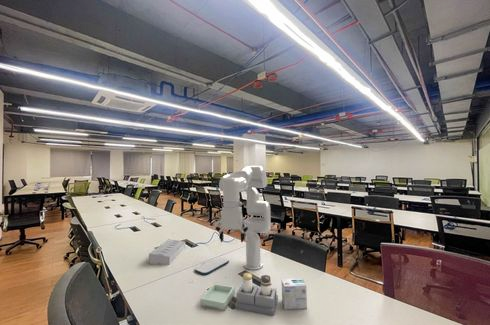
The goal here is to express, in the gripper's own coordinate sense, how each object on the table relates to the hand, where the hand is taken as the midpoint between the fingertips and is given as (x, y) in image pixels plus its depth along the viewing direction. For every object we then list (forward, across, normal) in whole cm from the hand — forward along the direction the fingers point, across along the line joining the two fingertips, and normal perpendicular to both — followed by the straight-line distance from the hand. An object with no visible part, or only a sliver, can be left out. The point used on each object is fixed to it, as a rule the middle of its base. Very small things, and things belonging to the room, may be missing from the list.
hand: (232, 241), depth 101 cm
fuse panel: (+31, -11, -4) cm, 33 cm away
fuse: (+29, -6, -4) cm, 30 cm away
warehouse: (+31, +59, -55) cm, 87 cm away
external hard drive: (+31, +21, -40) cm, 55 cm away
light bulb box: (+31, -28, -4) cm, 42 cm away
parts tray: (+31, +8, -5) cm, 32 cm away
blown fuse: (+29, -15, -3) cm, 33 cm away
